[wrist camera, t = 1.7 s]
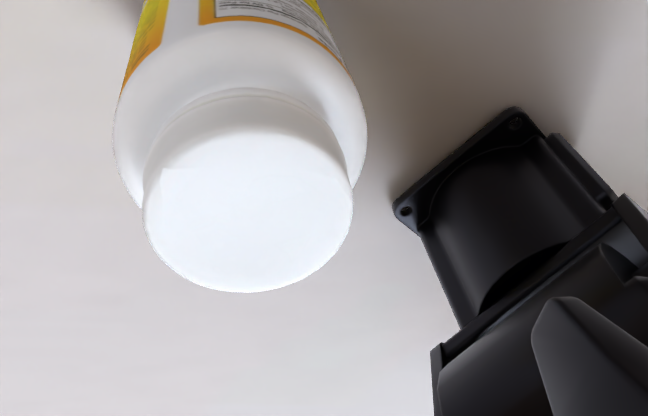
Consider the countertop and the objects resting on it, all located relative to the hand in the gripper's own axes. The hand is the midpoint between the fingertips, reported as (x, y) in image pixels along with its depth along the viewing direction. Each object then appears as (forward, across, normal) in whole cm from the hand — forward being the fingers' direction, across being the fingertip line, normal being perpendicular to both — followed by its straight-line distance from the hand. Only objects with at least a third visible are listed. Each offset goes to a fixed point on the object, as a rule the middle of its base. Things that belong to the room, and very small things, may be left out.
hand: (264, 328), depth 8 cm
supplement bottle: (+13, 0, 0) cm, 13 cm away
